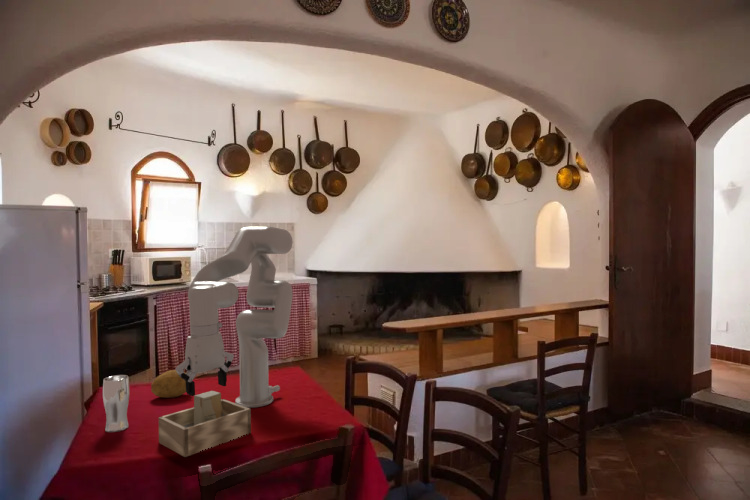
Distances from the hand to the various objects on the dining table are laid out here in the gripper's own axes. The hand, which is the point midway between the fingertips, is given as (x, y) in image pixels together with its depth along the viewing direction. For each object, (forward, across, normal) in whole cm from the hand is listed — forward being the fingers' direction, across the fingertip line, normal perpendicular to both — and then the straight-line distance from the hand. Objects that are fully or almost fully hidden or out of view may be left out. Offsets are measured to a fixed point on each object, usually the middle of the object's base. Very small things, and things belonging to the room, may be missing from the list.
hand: (207, 390), depth 137 cm
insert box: (+13, +1, +1) cm, 13 cm away
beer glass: (+13, +14, -26) cm, 33 cm away
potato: (+15, -11, -42) cm, 46 cm away
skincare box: (+13, +1, +1) cm, 13 cm away
